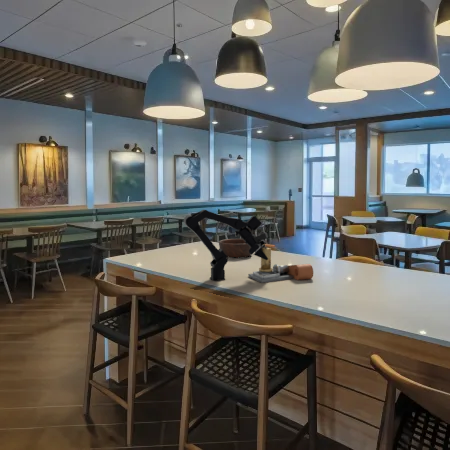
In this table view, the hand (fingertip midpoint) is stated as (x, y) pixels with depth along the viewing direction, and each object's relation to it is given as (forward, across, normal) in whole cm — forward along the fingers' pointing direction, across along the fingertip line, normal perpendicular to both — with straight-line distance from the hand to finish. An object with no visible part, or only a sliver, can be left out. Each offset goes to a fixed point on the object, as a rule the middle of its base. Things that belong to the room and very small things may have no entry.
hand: (268, 258), depth 203 cm
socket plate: (+8, +2, +7) cm, 11 cm away
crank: (+18, +9, -2) cm, 20 cm away
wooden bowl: (-15, +60, +31) cm, 69 cm away
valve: (+4, 0, +6) cm, 7 cm away
